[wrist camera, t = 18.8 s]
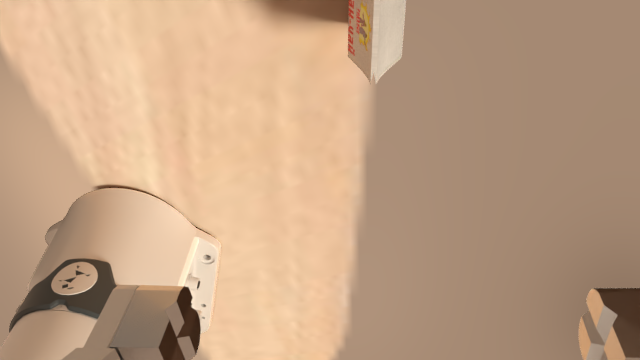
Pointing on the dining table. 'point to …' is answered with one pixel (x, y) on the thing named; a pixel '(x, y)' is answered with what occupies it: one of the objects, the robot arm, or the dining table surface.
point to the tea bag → (375, 34)
